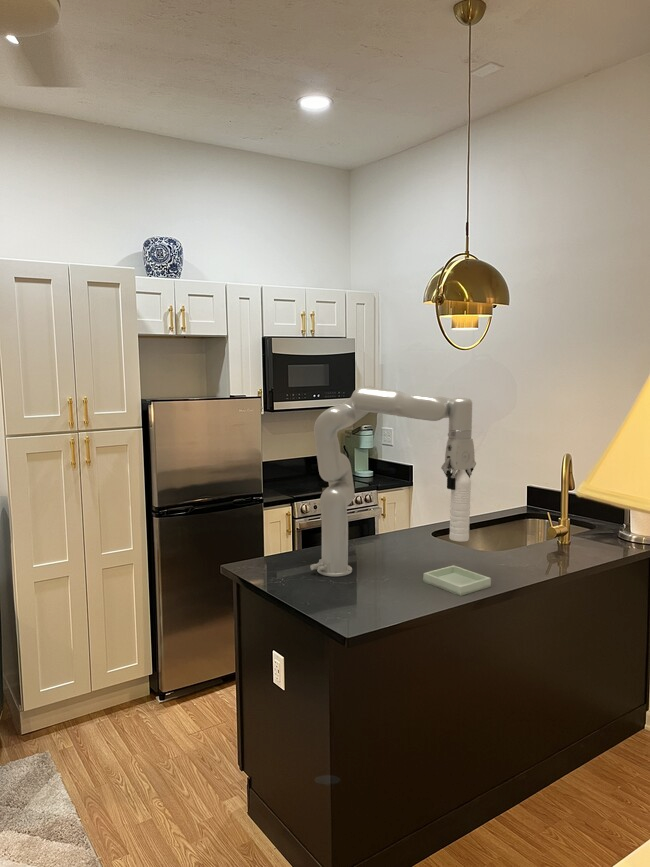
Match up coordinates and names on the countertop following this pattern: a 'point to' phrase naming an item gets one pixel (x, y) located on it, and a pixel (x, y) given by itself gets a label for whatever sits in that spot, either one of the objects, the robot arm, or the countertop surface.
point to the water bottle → (460, 507)
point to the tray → (457, 580)
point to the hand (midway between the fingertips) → (458, 487)
